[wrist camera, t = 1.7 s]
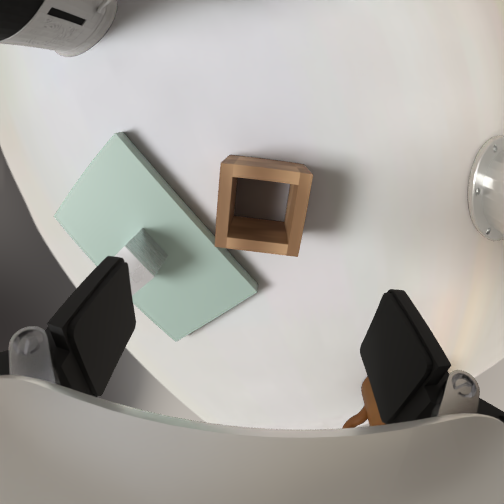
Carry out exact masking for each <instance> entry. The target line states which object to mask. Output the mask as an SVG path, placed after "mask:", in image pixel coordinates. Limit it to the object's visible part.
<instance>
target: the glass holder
mask: <svg viewBox="0 0 504 504" xmlns="http://www.w3.org/2000/svg"><path fill="white" fill-rule="evenodd" d="M116 11H117V0H0V44H11V45H21V46H29V47H36V48H43V49H49V50H55V52H56V53H57V54H59V55H61V56H64V57H72V56H77V55H79V54H82V53H84V52H85V51H87V50H89V49H90V48H91V47H93V46H94V45H95V44H96V43H97V42H98V41H99V40H100V39H101V38H102V37H103V36H104V35H105V33H106V32H107V30H108V29H109V27H110V26H111V24H112V22H113V20H114V17H115V15H116Z"/></svg>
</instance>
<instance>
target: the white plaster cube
mask: <svg viewBox="0 0 504 504" xmlns="http://www.w3.org/2000/svg"><path fill="white" fill-rule="evenodd" d="M114 257H121V258H123V259H124V262H127V263H128V267H129V276H130V284H131V292H132V296H133V295H134V294H135V293H136V292H137V291H138V290H140V289H141V288H142V287H143V286H144V285H146V284H147V283H148V282H149V281H150V280H152V279H153V278H154V277H155V276H156V274H157V272H158V271H159V269H160V268H161V266H162V265H163V263H164V262H165V260H166V258H167V257H168V254H167V253H166V252H165V251H164V250H163V249H162V248H161V247H160V246H159V245H158V244H157V243H156V242H155V240H154V239H153V238H152V237H151V236H150V235H149V234H148V233H147V232H146V231H145V230H144V228H142V229H141V230H140V231H139V232H138V233H137V234H136V235H135V236H134V237H133V238H132V239H131V240H130V241H129V242H128V243H127V244H126V245H125V246H124V247H123V248H122V249H121V250H120V251H119V252H118V253H117V254H116V255H115V256H114Z"/></svg>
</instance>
